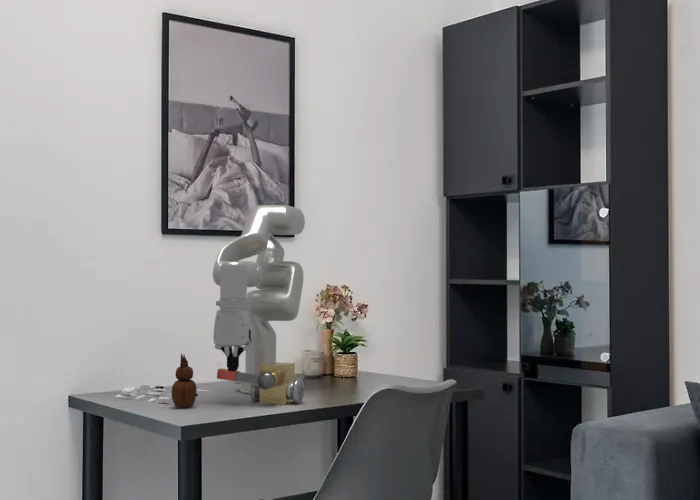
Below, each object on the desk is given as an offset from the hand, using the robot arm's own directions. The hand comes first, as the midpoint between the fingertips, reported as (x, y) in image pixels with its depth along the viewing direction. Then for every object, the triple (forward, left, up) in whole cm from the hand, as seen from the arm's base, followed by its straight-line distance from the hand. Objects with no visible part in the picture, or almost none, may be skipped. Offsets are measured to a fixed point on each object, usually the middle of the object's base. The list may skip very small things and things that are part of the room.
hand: (232, 370), depth 252 cm
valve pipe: (+10, +7, -10) cm, 16 cm away
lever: (+12, 0, -3) cm, 13 cm away
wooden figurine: (-10, -9, -10) cm, 17 cm away
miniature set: (-25, +2, -10) cm, 27 cm away
